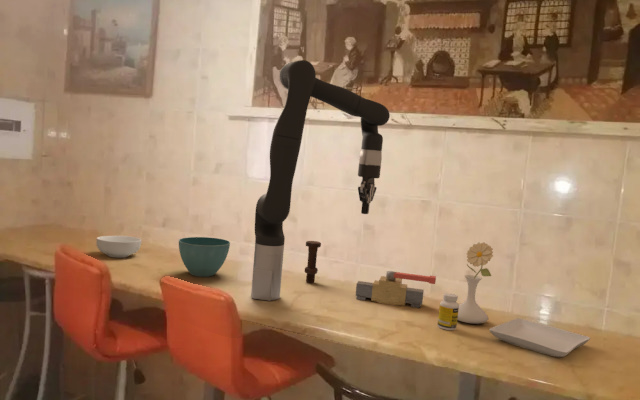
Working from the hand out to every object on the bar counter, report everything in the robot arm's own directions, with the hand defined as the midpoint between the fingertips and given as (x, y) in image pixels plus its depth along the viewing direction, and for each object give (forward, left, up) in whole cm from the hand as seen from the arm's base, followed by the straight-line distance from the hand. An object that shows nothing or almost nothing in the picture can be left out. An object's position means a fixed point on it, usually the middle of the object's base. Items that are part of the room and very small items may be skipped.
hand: (364, 213), depth 193 cm
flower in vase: (-17, -38, -28) cm, 50 cm away
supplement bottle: (-27, -31, -28) cm, 49 cm away
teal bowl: (-4, +56, -28) cm, 63 cm away
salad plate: (-29, -55, -29) cm, 69 cm away
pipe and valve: (-6, -12, -28) cm, 31 cm away
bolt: (+6, +19, -28) cm, 34 cm away
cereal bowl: (+7, +97, -28) cm, 102 cm away
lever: (-6, -18, -20) cm, 28 cm away
